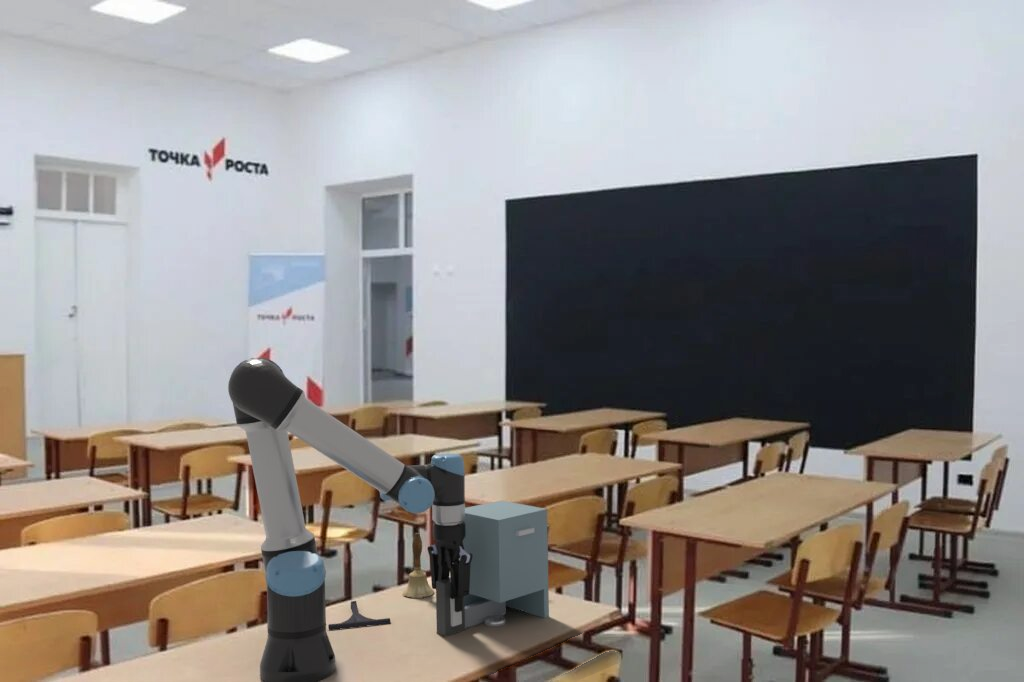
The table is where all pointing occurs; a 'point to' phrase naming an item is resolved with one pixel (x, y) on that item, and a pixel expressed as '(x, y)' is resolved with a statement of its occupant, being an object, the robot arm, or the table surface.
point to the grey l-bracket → (469, 613)
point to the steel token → (494, 620)
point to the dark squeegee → (358, 620)
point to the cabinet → (508, 555)
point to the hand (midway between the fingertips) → (450, 622)
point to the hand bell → (417, 574)
